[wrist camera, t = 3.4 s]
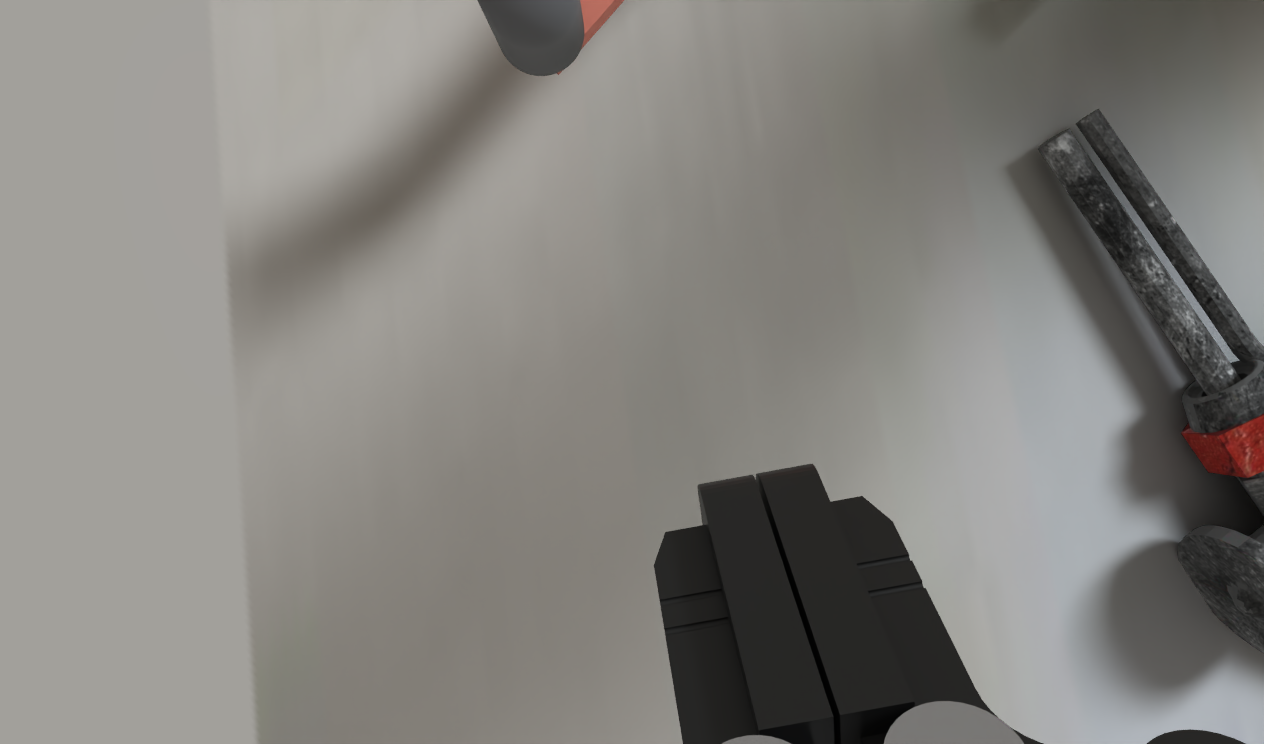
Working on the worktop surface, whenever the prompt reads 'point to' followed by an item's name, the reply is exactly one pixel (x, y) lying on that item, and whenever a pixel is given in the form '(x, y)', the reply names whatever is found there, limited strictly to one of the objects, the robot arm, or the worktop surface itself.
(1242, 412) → the valve
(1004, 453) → the worktop surface
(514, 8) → the lever
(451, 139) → the worktop surface
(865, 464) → the worktop surface
